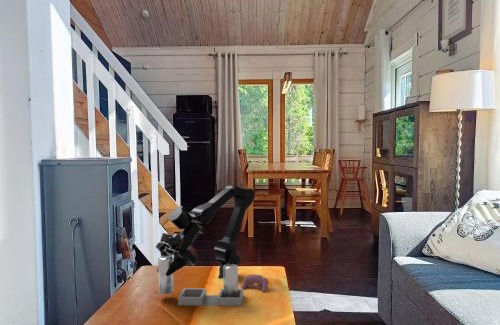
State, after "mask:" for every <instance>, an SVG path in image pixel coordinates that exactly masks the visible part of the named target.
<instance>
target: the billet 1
mask: <svg viewBox="0 0 500 325" xmlns="http://www.w3.org/2000/svg"><path fill="white" fill-rule="evenodd" d="M173 259H174V256H173V255H172V256H161V255H160V256H159V257H158V258H157V269H158V272H157V274H158V293H159V294H161V295H169V294H171V293H173V292H174V273H172V274H171V275H169V276H166V273H167V271H168V269H169V267H170V265H171V264H172V262H173Z"/></svg>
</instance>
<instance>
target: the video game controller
mask: <svg viewBox="0 0 500 325" xmlns="http://www.w3.org/2000/svg"><path fill="white" fill-rule="evenodd" d="M254 283H255V284H257V285H256V286H255V284H254ZM268 285H269V280H268V278H267V277H265V276H263V275H261V274H254V273H253V274H247V275H246V276H245V277H244V279H243V281H242V283H241V287H240V289H243V291H244V290H245V289H247V287H248V288H249V289H255V288H256V289H258V290H261V291H262V293H264V294H265V293H267V291H268V290H267V289H268Z"/></svg>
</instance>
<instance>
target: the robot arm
mask: <svg viewBox="0 0 500 325" xmlns="http://www.w3.org/2000/svg"><path fill="white" fill-rule="evenodd" d="M255 196H256V194H255V191H254V189H253V188H250V187H249V188H248V187H239V186H237V185H230V184H228V185H226V186H225V187H224V189H222V190H221V191H220V192H219V193H217V194H216V195H215V196H214V197H213V198H211V199H210V200H209V201H208V202H206V203H203V204H200V205H197V206H196V207H194V208H193V209H192V210H191V211H189V212H188V210H186V208H185V207H184V206H182V205H179V206H178V208H175V209H173V211H171V212H170V213H169V214H168V221H170V222H171V223H172V224H173V226H175V227H176V228H177V229H178V230H181V232H180V233H173V234H172V235H171V234H169V233H165V232H163V233H162V236H161V238H160V242H158V243H157V244H156V245H155V248H156V249H157V250H158V251H159V253H160V257H161V256H172V257H173V262H172V264H171V265H170V267H169V269H168V271H167V273H166V276H169V275H171V274H172V273H173V274H174V273H176V272H177V271H179V270H180V269H182V268H184V267H186V266H189V264H190V265H192V266H196V263H197V262H198V256H196V254H194V253H193V252H192V251H191V250H190V247H192V248H193V246H195V244H194V243H193V242H194V240H196V238H197V236H198V234H202V235H204V234H205V229H204V226H203V225H207V224H209V223H210V222H211V220H213V218H214V216H215V214H216V212H217V211H218V210H219V209H220V208H222V207H223V206H224V205H225V204H226V203H227V202H228V201H229V200H232V198H233V202H234V208H233V210H232V213H231V216H230V219H229V222H228V225H227V228H226V230H225V233H224V236H223V238H221V240H219V239H218V240H217V241H216V245H215V246H214V248H213V249H214V252H213V255H214V257H215V259H216V261H217V263H219V268H218V273H219V274H218V277H217V278H219V279H222V280H223V266H224V265H227V264H235V265H237V266H238V265H240V262H241V258H240V257H239V256H238V254H236V252H237V245H236V244H237V243H236V240H237V237H238V234H239V232H240V228H241V225H242V222H243V219H244V216H245V214H246V211H247V209H248V208H249V207H250V206H251V205H252V203H253V202H254V200H255V198H256V197H255ZM199 224H203V225H199ZM156 272H157V273H158V268H157V270H156Z"/></svg>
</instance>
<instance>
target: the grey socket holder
mask: <svg viewBox="0 0 500 325" xmlns="http://www.w3.org/2000/svg"><path fill="white" fill-rule="evenodd" d="M244 298H245V295H244V290H243V289H241V288H238V297H224V288H220V290H219V293H218V294H213V295H212V294H207V288H199V287H197V288H192V287H191V288H185V287H184V288H183V289H182V291H181V292H180V294H179V296H178V298H177V300H178V301H177V302H178V303H177V306H196V307H197V306H199V307H201V306H202V307H203V306H204V307H208V306H209V307H243V306H244V300H245V299H244Z"/></svg>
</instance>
